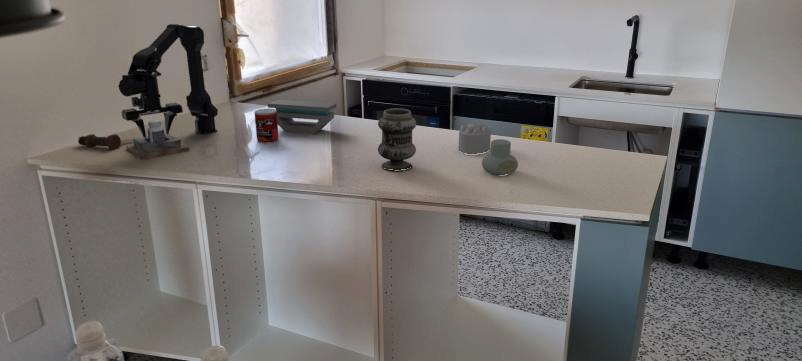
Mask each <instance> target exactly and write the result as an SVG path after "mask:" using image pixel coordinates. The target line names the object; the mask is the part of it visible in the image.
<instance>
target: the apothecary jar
mask: <svg viewBox="0 0 802 361" xmlns="http://www.w3.org/2000/svg"><path fill="white" fill-rule="evenodd" d="M377 126H378V129H380V130H381V142H380V144H379V145H378V147H377V152H378V155H380V156H381V157H382V158H383V159H386V160H387V161H385V162H383V163H382V164H381V166H382V167H383V168H386V169H393V170H401V169H407V168H410V167H412V166H413V164H412V163H410V162H409V161H407V160H408V159H409V160H410V159H411V158H412V157H414V155H415V154H416V153H417V147H416V145H415V144H414V143H413V131H414V129H415V128H416V127H417V121H416V119H415V118H414V117H412V112H411V110H409V109H407V108H397V107H394V108H388V109H387V108H386V109H385V110H383V115H382V116H381V117H380V119H379V120H378V121H377ZM382 167H381V168H382ZM383 168H382V169H383ZM412 168H413V167H412Z"/></svg>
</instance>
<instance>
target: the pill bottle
mask: <svg viewBox="0 0 802 361" xmlns="http://www.w3.org/2000/svg"><path fill="white" fill-rule="evenodd" d="M147 123H148V124H147V125H148V128H147V129H146V130H147V131H146V132H147V135H148V138H149V143H154V142H160V141H165V129H164V128H165V127H163V126H162V121H161V120H160V119H159V120H158V119H153V120H149V121H148V122H147Z"/></svg>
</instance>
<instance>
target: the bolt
mask: <svg viewBox="0 0 802 361" xmlns="http://www.w3.org/2000/svg"><path fill="white" fill-rule="evenodd" d="M121 140H122V139H121V137H120V136H119V134H117V133H113V134H110V135H107V137H105V136H97V135H95V134H93V133H91V134H87V135H82V136H79V137H78V139H77V143H78V144H79V145H80V146H81V145H82V146H86V147H87V148H89V149H90V148H91V149H92V148H95V147H107V148H108V149H109V150H110V151H113V150H118V149H120V147H121V145H122V141H121Z"/></svg>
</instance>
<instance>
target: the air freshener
mask: <svg viewBox="0 0 802 361" xmlns="http://www.w3.org/2000/svg"><path fill="white" fill-rule="evenodd" d="M481 167H482V168H483V170H484V171H485V172H487V173H489V174H490V175H493V174H495V175H494V176H497V175H505V174H508V175H511V174H512V173H515V171H516V170H517V169H518V167H519V162H518V159H516V157H515V156H513V155H512V154H511V141H510V140H507V139H503V138H502V139H501V138H499V139H493V140H492V141H490V151H489V153H487V154H485V156H483V158H482V160H481Z"/></svg>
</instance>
